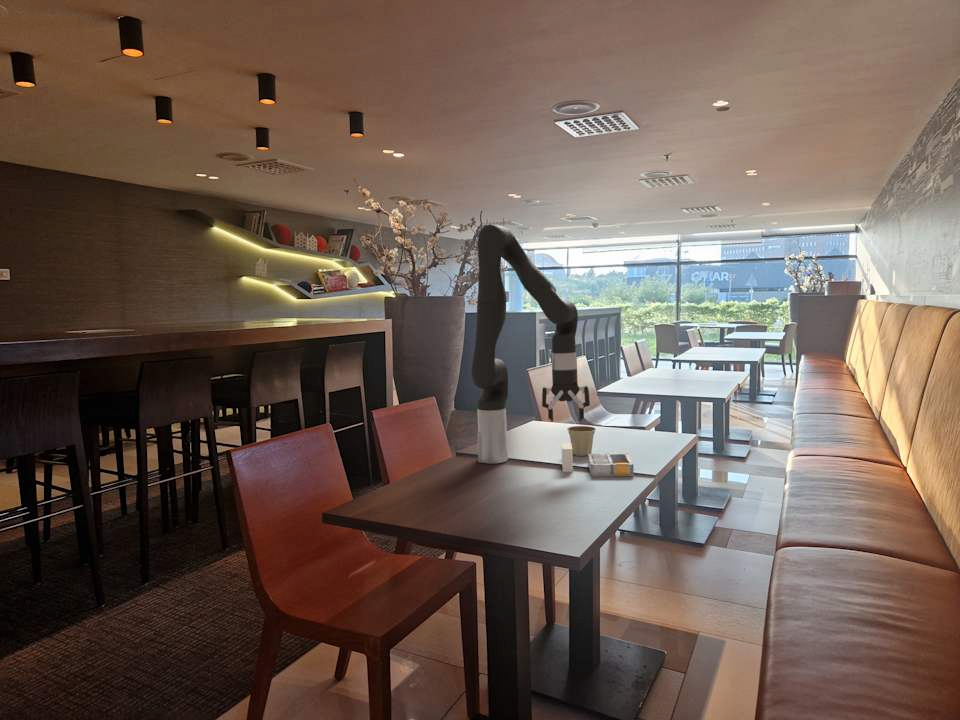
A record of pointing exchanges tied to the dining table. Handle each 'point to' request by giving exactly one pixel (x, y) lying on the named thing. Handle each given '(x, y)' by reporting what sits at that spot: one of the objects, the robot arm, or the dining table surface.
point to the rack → (610, 465)
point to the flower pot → (581, 439)
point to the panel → (567, 457)
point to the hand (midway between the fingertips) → (566, 420)
